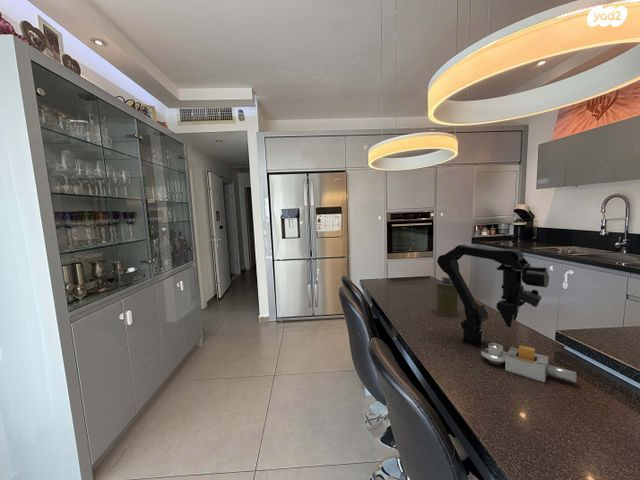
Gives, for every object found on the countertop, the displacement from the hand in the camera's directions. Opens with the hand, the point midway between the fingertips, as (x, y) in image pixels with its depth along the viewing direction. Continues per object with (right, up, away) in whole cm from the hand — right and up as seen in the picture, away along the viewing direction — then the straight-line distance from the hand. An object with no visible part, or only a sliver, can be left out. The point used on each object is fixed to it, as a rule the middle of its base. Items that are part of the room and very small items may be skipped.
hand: (511, 323), depth 101 cm
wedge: (-2, -13, -10) cm, 17 cm away
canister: (-3, -9, +45) cm, 46 cm away
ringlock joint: (-2, -13, -10) cm, 17 cm away
